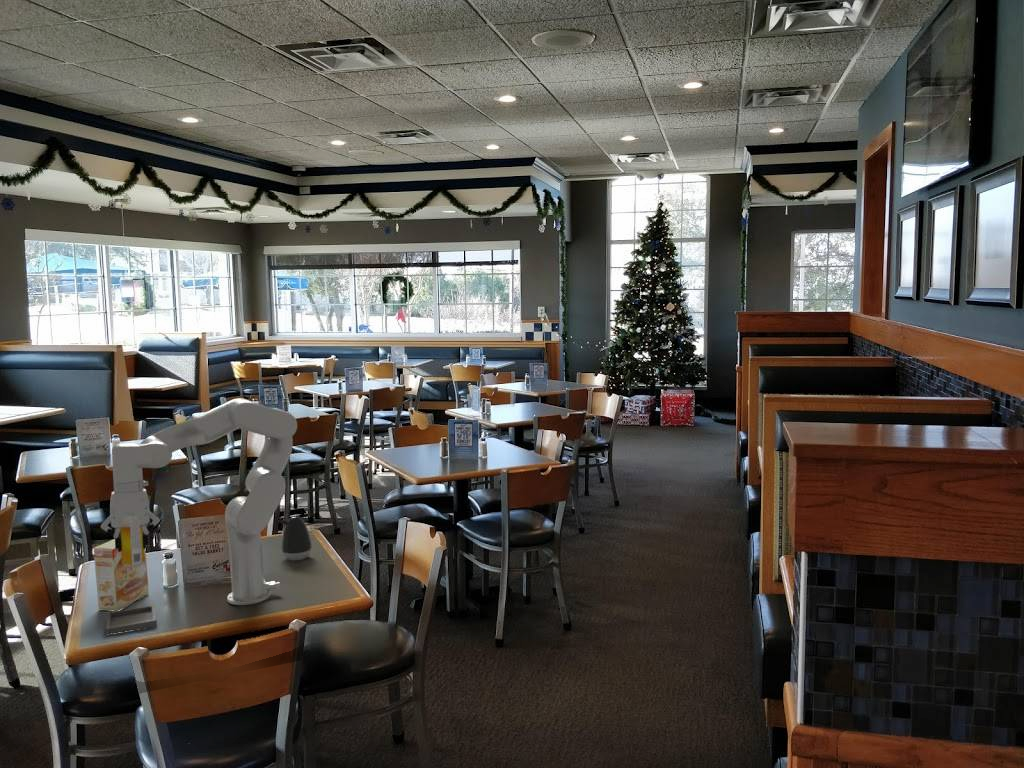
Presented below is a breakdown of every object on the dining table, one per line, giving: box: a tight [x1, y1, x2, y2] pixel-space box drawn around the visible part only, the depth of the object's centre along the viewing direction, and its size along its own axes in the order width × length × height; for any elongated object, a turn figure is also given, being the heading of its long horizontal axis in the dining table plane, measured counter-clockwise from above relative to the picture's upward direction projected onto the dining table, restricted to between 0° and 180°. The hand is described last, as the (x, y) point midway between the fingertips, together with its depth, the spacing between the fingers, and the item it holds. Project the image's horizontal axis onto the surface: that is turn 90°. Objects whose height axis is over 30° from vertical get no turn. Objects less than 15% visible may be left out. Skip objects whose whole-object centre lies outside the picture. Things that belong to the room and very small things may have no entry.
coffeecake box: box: [93, 538, 150, 611], centre depth 260 cm, size 15×7×20 cm, turn 167°
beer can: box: [119, 514, 146, 567], centre depth 242 cm, size 6×6×15 cm
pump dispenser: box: [278, 515, 313, 562], centre depth 297 cm, size 10×10×15 cm
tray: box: [105, 604, 158, 635], centre depth 245 cm, size 13×13×2 cm
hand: (132, 548), depth 242 cm, fingers closed on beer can, 5 cm apart
